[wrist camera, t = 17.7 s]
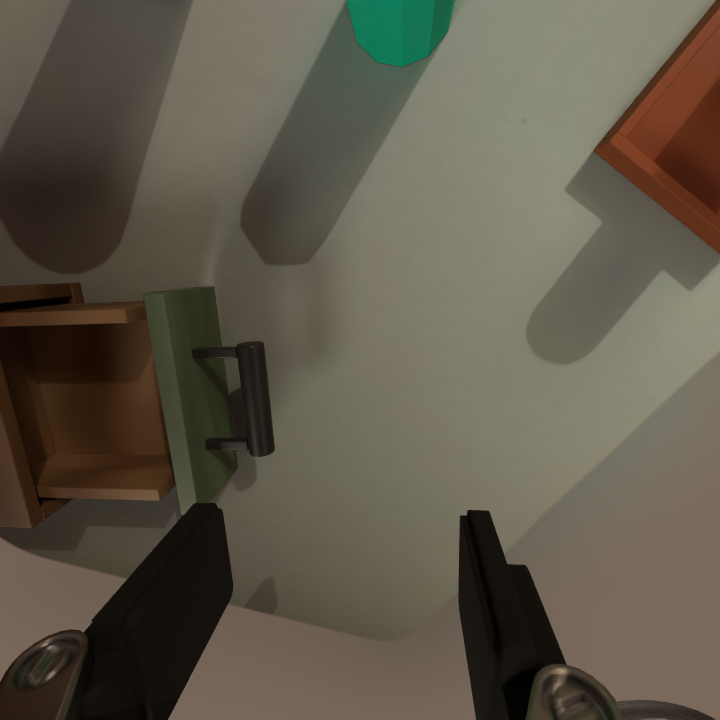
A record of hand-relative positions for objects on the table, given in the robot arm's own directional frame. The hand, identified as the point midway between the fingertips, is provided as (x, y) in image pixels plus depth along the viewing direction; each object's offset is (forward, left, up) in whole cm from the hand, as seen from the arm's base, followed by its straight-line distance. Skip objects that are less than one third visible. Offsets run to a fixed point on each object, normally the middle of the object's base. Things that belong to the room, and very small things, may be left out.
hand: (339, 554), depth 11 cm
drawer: (0, +16, -17) cm, 23 cm away
